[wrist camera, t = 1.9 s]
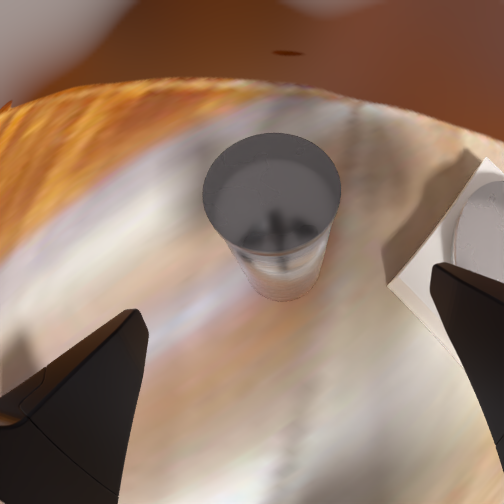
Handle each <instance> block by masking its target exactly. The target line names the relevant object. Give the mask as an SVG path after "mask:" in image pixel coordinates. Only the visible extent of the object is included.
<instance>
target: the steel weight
mask: <svg viewBox="0 0 504 504" xmlns="http://www.w3.org/2000/svg"><path fill="white" fill-rule="evenodd" d="M340 197H341V183H340V178H339V175H338V172H337V169H336V167H335V165H334V163H333V162H332V161H331V159H330V158H329V157H328V155H327V154H326V153H325V152H324V151H323V150H321V149H320V148H319V147H318V146H316V145H315V144H313V143H312V142H310V141H308V140H306V139H303V138H301V137H298V136H294V135H290V134H283V133H265V134H259V135H255V136H251V137H248V138H246V139H243V140H241V141H239V142H237V143H235V144H233V145H232V146H230V147H229V148H227V149H226V150H225V151H224V152H223V153H222V154H221V155H220V156H219V157H218V158H217V159H216V160H215V161H214V163H213V164H212V166H211V167H210V169H209V171H208V173H207V176H206V178H205V182H204V186H203V204H204V208H205V211H206V214H207V217H208V218H209V220H210V222H211V224H212V225H213V227H214V229H215V230H216V231H217V232H218V234H219V235H220V236H221V237H222V238H223V239H224V240H225V242H226V243H227V245H228V247H229V249H230V250H231V252H232V254H233V255H234V257H235V259H236V260H237V262H238V264H239V265H240V267H241V269H242V270H243V272H244V274H245V275H246V277H247V279H248V280H249V282H250V284H251V285H252V287H253V288H254V289H255V290H256V291H257V292H258V293H259V294H260V295H262V296H264V297H265V298H268V299H270V300H274V301H281V302H283V301H292V300H295V299H298V298H300V297H302V296H303V295H305V294H306V293H307V292H308V291H310V289H311V288H312V287H313V286H314V284H315V283H316V281H317V279H318V276H319V273H320V269H321V265H322V261H323V257H324V254H325V250H326V246H327V242H328V238H329V234H330V229H331V225H332V223H333V221H334V218H335V216H336V214H337V210H338V207H339V203H340Z"/></svg>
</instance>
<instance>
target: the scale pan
mask: <svg viewBox="0 0 504 504" xmlns="http://www.w3.org/2000/svg"><path fill="white" fill-rule="evenodd" d="M451 264H453V265H456V266H458V267H461V268H464V269H467V270H470V271H472V272H475V273H478V274H481V275H483V276H486V277H489V278H491V279H494V280H497V281H499V282H502V283H504V181H494V182H490V183H487V184H485V185H483V186H481V187H480V188H479V189H477V190H476V191H475V192H474V193H473V194H472V195H471V196H470V198H469V199H468V200H467V201H466V202H465V204H464V205H463V207H462V209H461V210H460V212H459V214H458V217H457V220H456V222H455V226H454V230H453V235H452V243H451Z"/></svg>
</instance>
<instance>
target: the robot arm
mask: <svg viewBox="0 0 504 504" xmlns="http://www.w3.org/2000/svg"><path fill="white" fill-rule="evenodd" d="M430 295H431V297H432V300H433V302H434V304H435V307H436V309H437V311H438V314H439V316H440V318H441V321H442V323H443V326H444V328H445V331H446V333H447V335H448V337H449V339H450V341H451V343H452V345H453V347H454V349H455V351H456V353H457V355H458V357H459V359H460V361H461V363H462V365H463V367H464V369H465V372H466V374H467V376H468V378H469V380H470V383H471V385H472V387H473V389H474V392H475V394H476V396H477V399H478V401H479V403H480V406H481V408H482V411H483V413H484V416H485V418H486V421H487V424H488V426H489V429H490V432H491V434H492V437H493V440H494V443H495V445H496V449H497V452H498V456H499V459H500V462H501V465H502V468H503V472H504V283H502V282H499V281H497V280H494V279H491V278H489V277H486V276H483V275H481V274H478V273H475V272H472V271H470V270H467V269H464V268H461V267H458V266H456V265H453V264H450V263H447V262H441V263H436V264H434V265H433V267H432V272H431V280H430ZM148 338H149V332H148V329H147V326H146V324H145V322H144V320H143V317H142V315H141V313H140V311H139V310H138V309H127V310H124V311H123V312H121V313H120V314H118V315H117V316H116V317H114V318H113V319H111V320H110V321H108V322H107V323H106V324H104V325H103V326H101V327H100V328H99V329H97V330H96V331H94V332H93V333H92V334H90V335H89V336H87V337H86V338H84V339H83V340H82V341H80V342H79V343H77V344H76V345H75V346H73V347H72V348H71V349H69V350H68V351H66V352H65V353H64V354H62V355H61V356H59V357H58V358H57V359H55V360H54V361H53V362H51V363H50V364H48V365H47V367H44V368H43V369H41V370H40V371H39V372H37V373H36V374H35V375H33V376H32V377H30V378H29V379H28V380H26V381H25V382H23V383H22V384H20V385H19V386H17V387H16V388H14V389H13V390H11V391H10V392H8V393H6V394H5V395H3V396H2V397H0V504H118V499H119V497H118V496H119V491H120V485H121V479H122V473H123V468H124V462H125V457H126V452H127V447H128V442H129V437H130V432H131V427H132V422H133V418H134V413H135V409H136V404H137V400H138V396H139V392H140V387H141V383H142V379H143V373H144V366H145V359H146V352H147V345H148Z"/></svg>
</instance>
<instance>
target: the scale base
mask: <svg viewBox="0 0 504 504" xmlns="http://www.w3.org/2000/svg"><path fill="white" fill-rule="evenodd" d="M494 181H504V173H503V172H502V171H501V170H500V169H499V168H498V167H497V166H496V165H495V164H494V163H493V162H491V161H490V160H489V159H488V158H487V157H485V158H484V160H483V161H482V162H481V164H480V165H479V166H478V168H477V169H476V170H475V172H474V173H473V175H472V176H471V178H470V179H469V181H468V182H467V184H466V185H465V187H464V188H463V190H462V191H461V192H460V194H459V195H458V197H457V198H456V200H455V201H454V202H453V204H452V205H451V207H450V208H449V209H448V211H447V212H446V214H445V215H444V216H443V218H442V219H441V220H440V222H439V223H438V224H437V226H436V227H435V228H434V229H433V231H432V232H431V233H430V235H429V236H428V237H427V239H426V240H425V241H424V242H423V244H422V245H421V246H420V247H419V249H418V250H417V251H416V252H415V253H414V255H413V256H412V257H411V258H410V260H409V261H408V262H407V263H406V264H405V266H404V267H403V268H402V269H401V270H400V271H399V273H398V274H397V275H396V276H395V277H394V278H393V280H392V281H391V282H390V283H389V284H388V285H387V287H388V288H389V289H390V290H391V291H392V292H393V293H394V294H395V295H396V296H397V297H398V298H399V299H400V300H401V301H402V302H403V303H404V304H405V305H406V306H407V307H408V308H409V309H410V310H411V311H412V312H413V313H414V315H415V316H416V317H417V318H418V319H419V320H420V321H421V322H422V323H423V324H424V325H425V326H426V327H427V328H428V330H429V331H430V332H431V333H432V334H433V335H434V336H435V337H436V338H437V339H438V340H439V342H440V343H441V344H442V345H443V346H444V347H445V348H446V349H447V350H448V352H449V353H450V354H451V355H452V356H453V357H454V358H455V360H456V361H457V362H458V363H459V364H460V365H461V367H462V368H463V369H464V367H463V365H462V363H461V361H460V359H459V357H458V355H457V353H456V351H455V349H454V347H453V345H452V343H451V341H450V339H449V337H448V335H447V333H446V331H445V328H444V326H443V323H442V321H441V318H440V316H439V314H438V311H437V309H436V307H435V304H434V302H433V300H432V297H431V295H430V280H431V272H432V267H433V265H434V264H436V263H441V262H447V263H450V264H451V243H452V235H453V230H454V226H455V222H456V220H457V217H458V214H459V212H460V210H461V209H462V207H463V205H464V204H465V202H466V201H467V200H468V199H469V198H470V196H471V195H472V194H473V193H474V192H475V191H476V190H477V189H479V188H480V187H481V186H483V185H485V184H487V183H490V182H494ZM464 370H465V369H464Z"/></svg>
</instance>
